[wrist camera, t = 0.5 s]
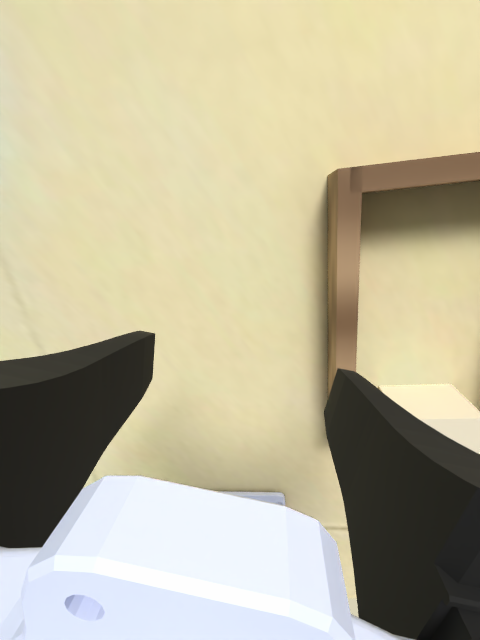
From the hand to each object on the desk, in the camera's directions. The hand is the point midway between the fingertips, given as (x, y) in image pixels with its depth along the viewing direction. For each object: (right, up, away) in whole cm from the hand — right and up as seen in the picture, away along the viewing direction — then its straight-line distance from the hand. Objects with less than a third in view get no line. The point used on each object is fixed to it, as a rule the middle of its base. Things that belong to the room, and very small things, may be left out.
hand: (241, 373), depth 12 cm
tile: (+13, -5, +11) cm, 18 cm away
